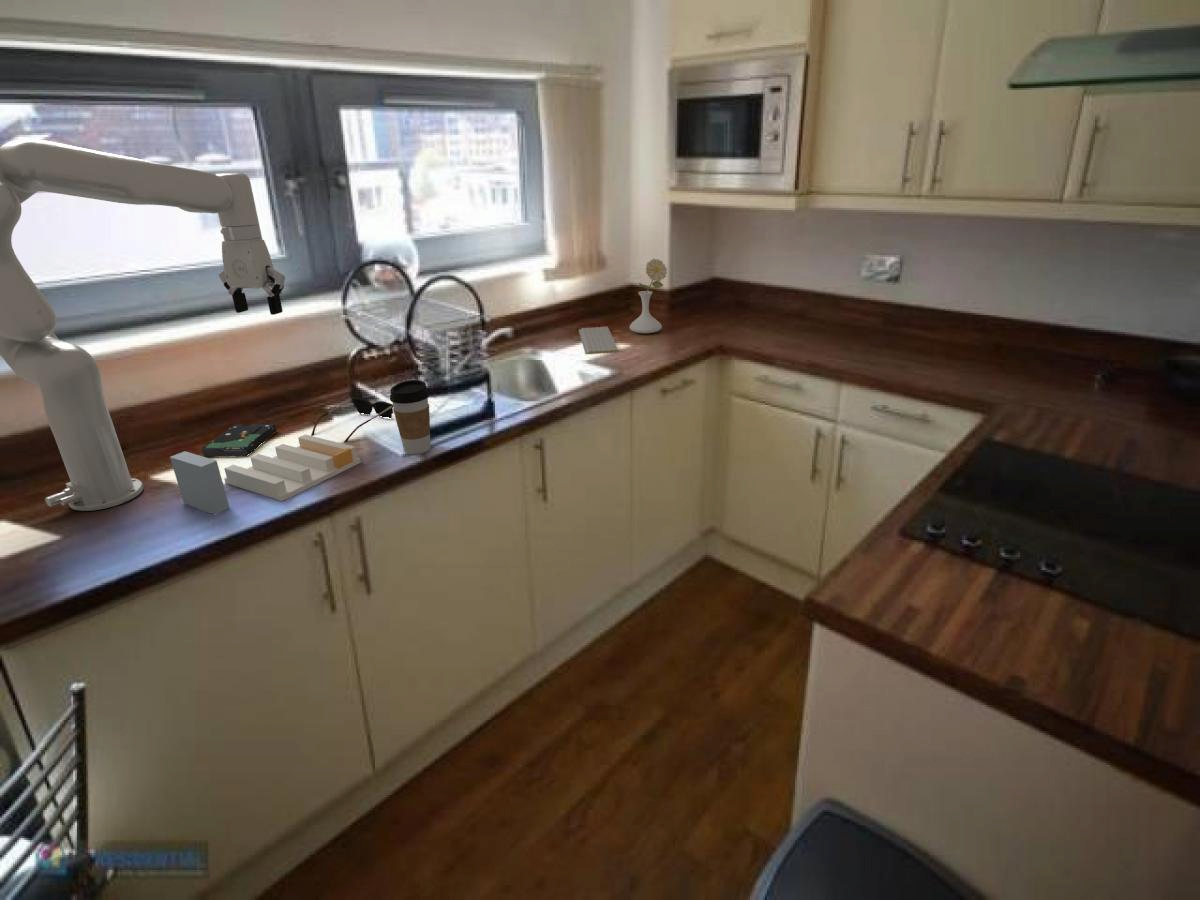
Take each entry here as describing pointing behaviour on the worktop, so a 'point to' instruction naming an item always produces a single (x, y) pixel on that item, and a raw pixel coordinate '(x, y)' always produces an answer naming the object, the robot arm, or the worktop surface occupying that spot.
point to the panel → (200, 482)
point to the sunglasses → (365, 411)
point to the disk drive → (239, 440)
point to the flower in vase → (645, 320)
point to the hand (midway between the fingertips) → (259, 312)
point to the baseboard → (597, 340)
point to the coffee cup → (412, 415)
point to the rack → (293, 467)
